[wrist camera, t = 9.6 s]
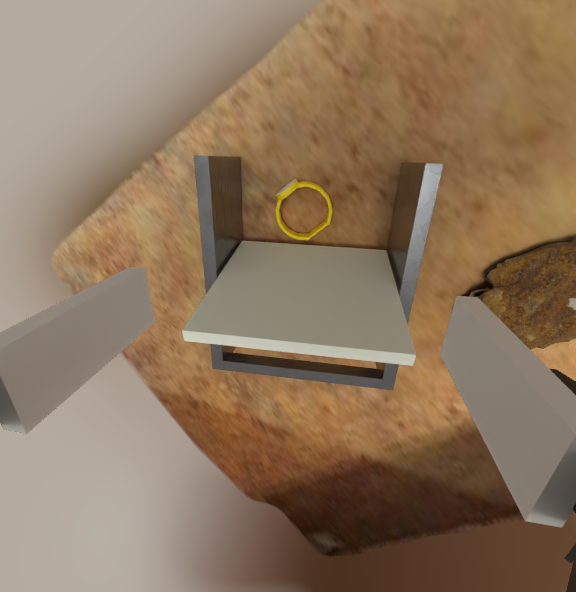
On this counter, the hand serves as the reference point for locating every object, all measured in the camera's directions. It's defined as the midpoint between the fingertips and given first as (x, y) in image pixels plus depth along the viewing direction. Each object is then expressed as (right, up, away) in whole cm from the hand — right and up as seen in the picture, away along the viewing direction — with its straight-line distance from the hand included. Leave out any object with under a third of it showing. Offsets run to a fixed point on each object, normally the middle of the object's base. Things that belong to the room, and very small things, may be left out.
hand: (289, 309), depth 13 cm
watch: (+3, +8, +21) cm, 22 cm away
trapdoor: (+1, +1, +14) cm, 15 cm away
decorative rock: (+27, +1, +21) cm, 34 cm away
